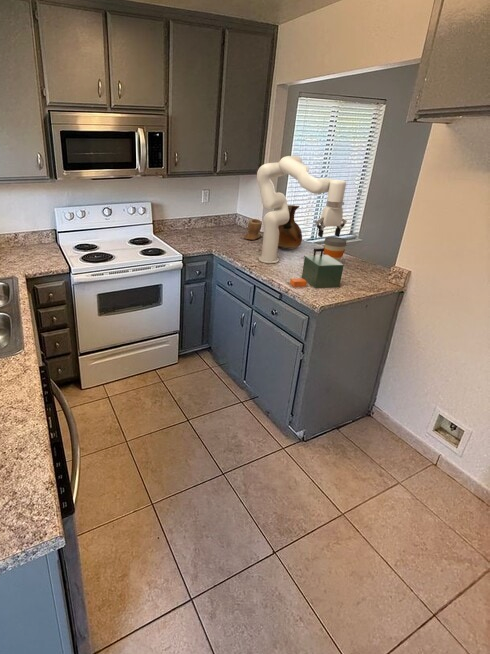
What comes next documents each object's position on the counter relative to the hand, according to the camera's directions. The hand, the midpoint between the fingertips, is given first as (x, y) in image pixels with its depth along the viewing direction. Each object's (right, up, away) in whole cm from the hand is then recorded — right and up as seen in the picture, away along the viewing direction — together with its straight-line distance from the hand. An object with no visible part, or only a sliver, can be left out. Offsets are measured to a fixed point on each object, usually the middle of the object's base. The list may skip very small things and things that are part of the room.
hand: (328, 236), depth 191 cm
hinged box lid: (-3, -13, 0) cm, 14 cm away
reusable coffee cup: (+17, -13, +33) cm, 39 cm away
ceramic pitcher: (-1, -1, +63) cm, 63 cm away
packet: (-17, -26, 0) cm, 31 cm away
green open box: (-3, -25, +4) cm, 25 cm away
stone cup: (-20, +7, +83) cm, 86 cm away
